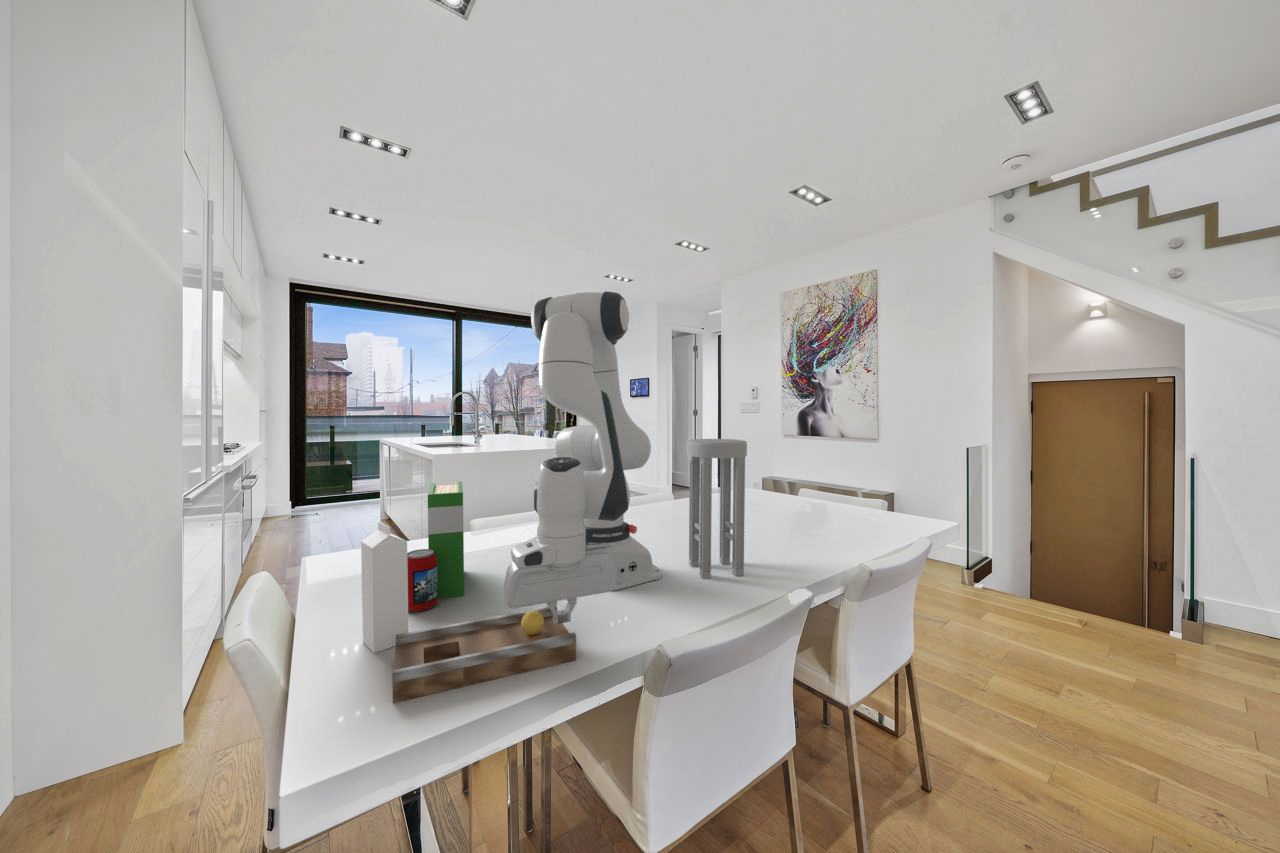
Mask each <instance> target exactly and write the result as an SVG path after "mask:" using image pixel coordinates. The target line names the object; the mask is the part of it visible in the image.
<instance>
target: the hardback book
mask: <svg viewBox="0 0 1280 853" xmlns="http://www.w3.org/2000/svg"><path fill="white" fill-rule="evenodd" d="M427 532H428V534H427V536H428V543H427V544H428V546H427V547H428V548H427V549H430V550H433V551H434V554H435V556H436V557H437V579H438V600H441V599H448V598H449V599H450V598H456V597H464V596H465V562H464V560H465V559H464V558H465V557H464V556H465V555H464V553H465V552H464V551H465V550H464V546H465V545H464V541H465V540H464V536H465V535H464V488H463V481H458V482H457V484H442V485H436V482H431V483H430V486H429V489H428V492H427Z"/></svg>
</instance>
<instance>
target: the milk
mask: <svg viewBox="0 0 1280 853" xmlns="http://www.w3.org/2000/svg"><path fill="white" fill-rule="evenodd" d="M390 528H391V527H390V526H389V525H386V524H385V523H382V522H381V521H378V522H377V530H375V531H374V532H373V533H371V534H370V535H368V536H367V537H366V538H364V539H362V540H361V541H360V544H361V545H360V547H361V548H360V550H361V551H360V552H361V553H360V556H361V597H362V598H361V600H362V601H361V606H362V608H361V609H362V613H361V614H362V641H363V643H364V645H365V646H367V647H368V649H369V650H370V651H371V652H372V653H373V654H376V653H379V652H382V651H385V650H387V649H390V648H393V647H396V634H401V633H407V632H409V610H408V568H407V553H408V541H407V540H405V539H403V538H402V537H399V536H397V535H396V534H393V533H391V529H390Z"/></svg>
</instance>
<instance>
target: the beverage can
mask: <svg viewBox="0 0 1280 853" xmlns="http://www.w3.org/2000/svg"><path fill="white" fill-rule="evenodd" d="M407 568H408V612H412V613H420V612H424V611H428V610H430V609H432V608H434V606H436V604H437V603H438V600H439V599H438V579H437V557H436V556H435V554H434V551H433V550H430V549H428V548H423V549H415V550H411V551H409V552H408V551H407Z"/></svg>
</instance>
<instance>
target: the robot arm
mask: <svg viewBox="0 0 1280 853" xmlns="http://www.w3.org/2000/svg"><path fill="white" fill-rule="evenodd" d="M530 315H531V316H530V323H531V328H532V330H533V331H532V332H533V333H534V335H535V337H536V338H537V339H538V340H539V341H540V344H539V355H538V382H539V389H540V392H541V395H542V396H543V398H544V399H546V401H547V402H549V403H550V404H551V405H552V406H554V407H556V408H557V409H559V410H560V411H561V410H562V411H563V412H566V413H569V414H571V415H575V416H577V417H580V418H582V419H583V420H586V421H588V422H589V423H590V424H591V425H581V424H580V425H575V426H571V427H565V428H563V429H562V430H560V432H559V433H558V434H557V437H556V438H555V443H554V449H555V450H554V451H555V454H556V457H552V458H548V459H546V460H544V461H543V462H542V463H541V464H540V467H539V474H538V480H537V482H536V483H535V484H534V486H533V509H534V511H535V512H536V514H538V525H537V528H536V536H535V537H532V538H531V539H528V540H526V541H524V542H521V543H519V544H517V545H515V546H512V547H511V549H510V557H511V559H512V561H511V562H510V563H509V565H508V566H507V569H506V573H505V578H504V589H503V598H504V602H505V604H506V605H507V606H508V608H510V609H518V608H525V607H531V606H536V605H544V604H546V605H547V607H549V608H550V610H551V611H552V613H553V622H554V624H560V623H563V624H565V623H569V622H571V618H572V612H573V610H574V609H575V607H576V605H577V599H578V598H581V597H582V598H583V597H588V596H594V595H599V594H604V593H610V592H612V591H618V590H622V589H626V588H630V587H634V586H637V585H641V584H644V583H648V582H652V581H655V580H656V581H657V580H659V579H662V571H661V569H660V568H659V567H658V566H656V565H655V564H653V559H652V554H651V552H650V551H649V549H648V548H647V547H646V546H644V545H643V544H642V543H640V542H639V541H637V540H636V539H635V538H634V537H632V536H631V534H633V535H635V534H637V532H638V527H637V526H636V525H634V524H630V523H628V522H625V521H624V514H625V513H626V512H627V511H628V510H629V505H630V502H631V491H630V487H629V483H628V481H627V477H626V475H625V472H624V471H629V470H635V469H641V468H642V467H644V466H645V465H646V463H647V462H648V460H649V459H650V457H651V456H650V455H651V451H652V450H651V449H652V444H651V441H650V438H649V436H648V435H647V432H645V430H643V429H642V428H640V427H639V426H638V425H637V424H636V423H635V422H634V421H633V419H632V418H631V417H630V415H629V414H628V412H627V410H626V408H625V406H624V403H623V399H622V393H621V387H620V386H621V385H620V378H619V377H620V376H619V365H618V357H617V356H618V355H617V352H616V346H615V345H617V343H618V341H619V340H620V339H622V338H623V337H624V336H625V334H626V333H627V331H628V327H629V322H630V311H629V308H628V305H627V303H626V300H625V298H624V297H623V296H622V295H621V294H620V293H618V292H614V291H606V290H605V291H604V292H595V291H594V292H590V291H589V292H586V291H585V292H576V293H573V294H568V295H561V296H556V297H553V296H549V297H546V298H543V299H540V300H538V301H537V302H536V303H535V304H534V305H533V308H532V310H531V313H530ZM563 600H566V601H567V603H566V605H565V608H564V609H561V610H557V611H556V610H555V608H554V607H558V602H560V601H563Z"/></svg>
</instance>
